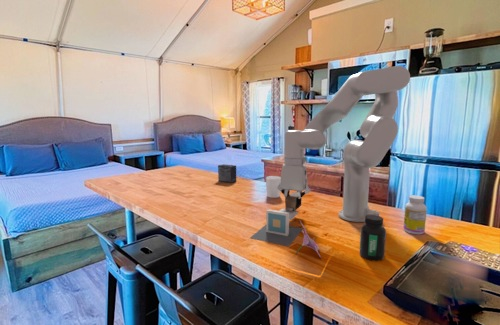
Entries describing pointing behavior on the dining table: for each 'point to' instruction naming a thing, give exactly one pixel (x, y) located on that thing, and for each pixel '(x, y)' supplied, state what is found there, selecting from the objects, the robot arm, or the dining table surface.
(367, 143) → the robot arm
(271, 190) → the white cup
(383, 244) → the supplement bottle
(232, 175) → the small box
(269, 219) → the tile
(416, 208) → the supplement bottle
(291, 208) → the brown and grey block
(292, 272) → the dining table surface
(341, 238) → the dining table surface
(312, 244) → the lily
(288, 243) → the mat
